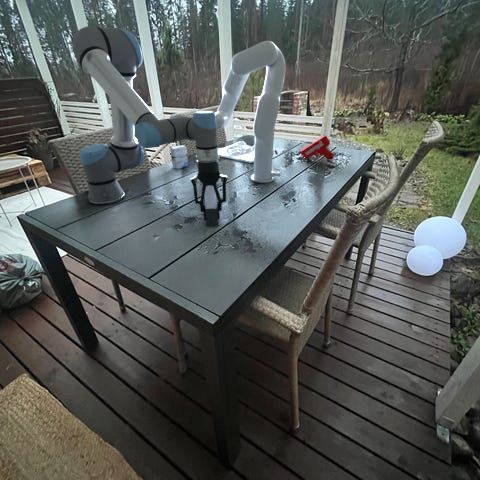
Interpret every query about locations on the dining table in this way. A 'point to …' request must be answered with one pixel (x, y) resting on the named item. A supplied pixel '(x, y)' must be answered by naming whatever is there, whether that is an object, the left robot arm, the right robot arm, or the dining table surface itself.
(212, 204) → the bar
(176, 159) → the ink box
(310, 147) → the toy gun
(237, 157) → the relief map
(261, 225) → the dining table surface
